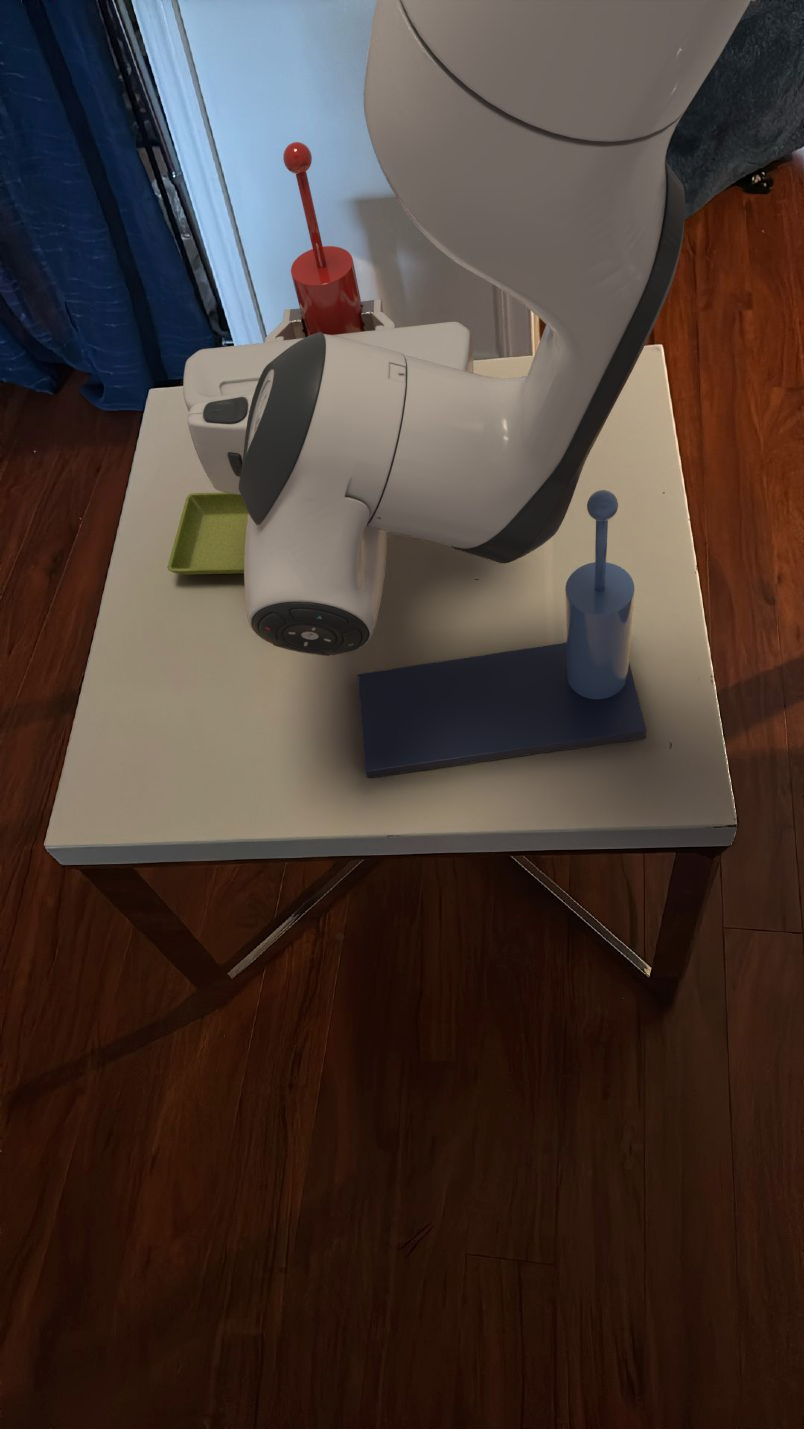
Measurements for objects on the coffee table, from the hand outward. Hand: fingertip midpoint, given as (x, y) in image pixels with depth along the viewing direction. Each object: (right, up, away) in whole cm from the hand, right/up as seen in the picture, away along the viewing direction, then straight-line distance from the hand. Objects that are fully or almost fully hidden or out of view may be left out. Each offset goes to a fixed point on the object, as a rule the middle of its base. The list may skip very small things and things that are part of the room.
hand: (334, 312), depth 77 cm
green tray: (-9, -15, +12) cm, 22 cm away
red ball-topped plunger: (+1, -4, +4) cm, 6 cm away
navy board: (+12, -29, 0) cm, 32 cm away
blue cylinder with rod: (+19, -27, -1) cm, 33 cm away
